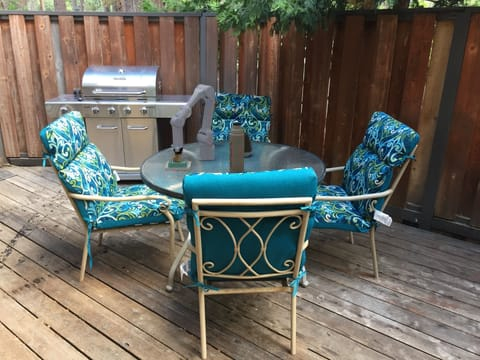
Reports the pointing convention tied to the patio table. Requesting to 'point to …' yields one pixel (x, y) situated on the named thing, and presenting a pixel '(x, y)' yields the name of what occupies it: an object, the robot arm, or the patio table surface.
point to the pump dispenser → (247, 145)
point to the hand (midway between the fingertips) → (178, 160)
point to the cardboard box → (176, 158)
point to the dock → (178, 165)
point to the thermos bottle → (236, 148)
